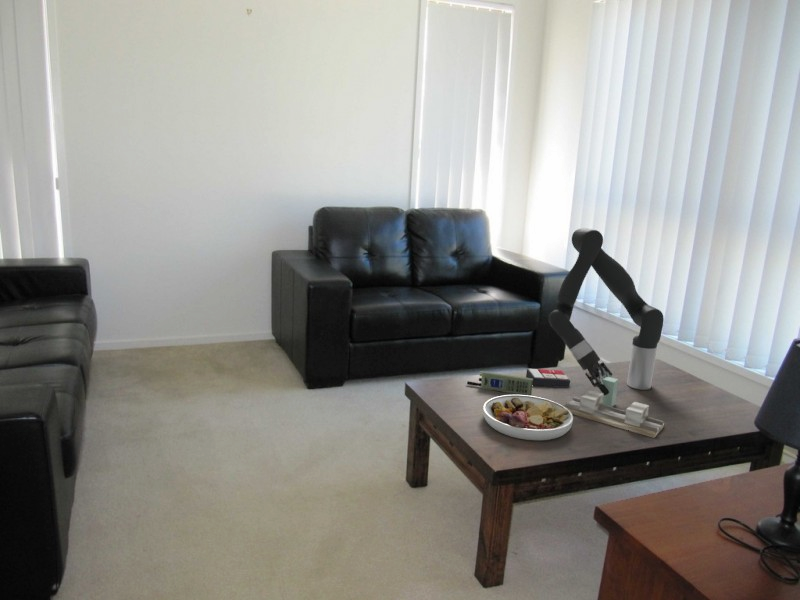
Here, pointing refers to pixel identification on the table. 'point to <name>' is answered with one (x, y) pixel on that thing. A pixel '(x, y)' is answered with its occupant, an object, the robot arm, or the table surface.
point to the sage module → (610, 391)
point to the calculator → (548, 377)
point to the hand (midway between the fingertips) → (611, 391)
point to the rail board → (615, 414)
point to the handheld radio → (504, 383)
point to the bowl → (527, 417)
